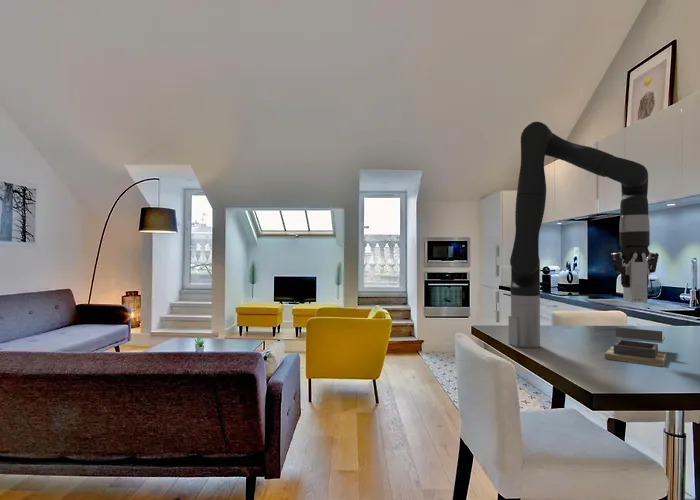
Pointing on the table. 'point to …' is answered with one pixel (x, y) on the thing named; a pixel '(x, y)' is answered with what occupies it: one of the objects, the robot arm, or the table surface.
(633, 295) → the skincare box
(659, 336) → the cover
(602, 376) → the table surface
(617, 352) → the socket board
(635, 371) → the table surface
